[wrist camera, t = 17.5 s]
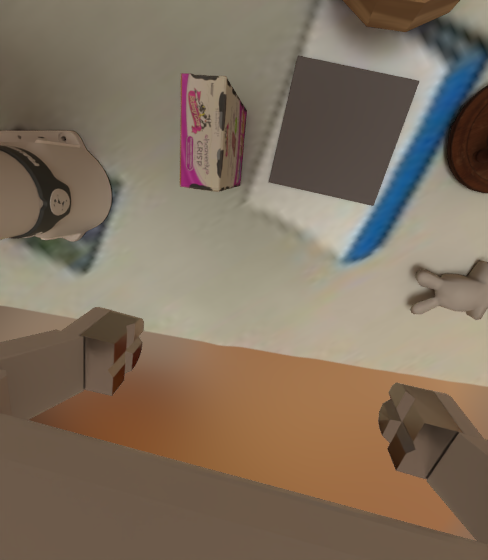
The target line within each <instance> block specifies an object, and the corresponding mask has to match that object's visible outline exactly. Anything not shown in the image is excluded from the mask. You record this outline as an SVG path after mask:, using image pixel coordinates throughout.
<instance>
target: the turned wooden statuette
mask: <svg viewBox="0 0 488 560" xmlns="http://www.w3.org/2000/svg"><path fill="white" fill-rule="evenodd" d="M447 156H448V162H449V166H450V169H451V171H452V173H453V174H454V176H455V177H456V179H457V180H458V181H459V182H460V183H461V184H463V185H464V186H465V187H467V188H469V189H471V190H474V191H477V192H481V193H488V86H486V87H485V88H483V89H482V90H481V91H479V92H478V93H477V94H476V95H475V96H474V97H473V98H472V99H471V100H470V101H469V102H468V103H467V104H466V105H465V106H464V108H463V109H462V110H461V112H460V113H459V115H458V117H457V118H456V120H455V122H454V124H452V126H451V132H450V135H449V139H448V146H447Z"/></svg>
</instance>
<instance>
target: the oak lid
mask: <svg viewBox="0 0 488 560" xmlns="http://www.w3.org/2000/svg"><path fill="white" fill-rule="evenodd" d="M343 1H344V2H345V4H346V5H347V6H348V7H349V8H350V9H351V10H352V11H353V12H354V13H355V14H356V15H357V16H358V18H359V19H360V20H361V21H362V22H363V23H364V24H365V25H366V26H367V27H374V28H381V29H388V30H395V31H402V32H407V31H409V30H411V29H413V28H416V27H418V26H420V25H422V24H425V23H427V22H429V21H431V20H434V19H436V18H438V17H440V16H442V15H445V14H447V13H449V12H450V11H451V10H452V9H453V8H454V7H455V5H456V4H457V3H458V2H459V1H460V0H343Z"/></svg>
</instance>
